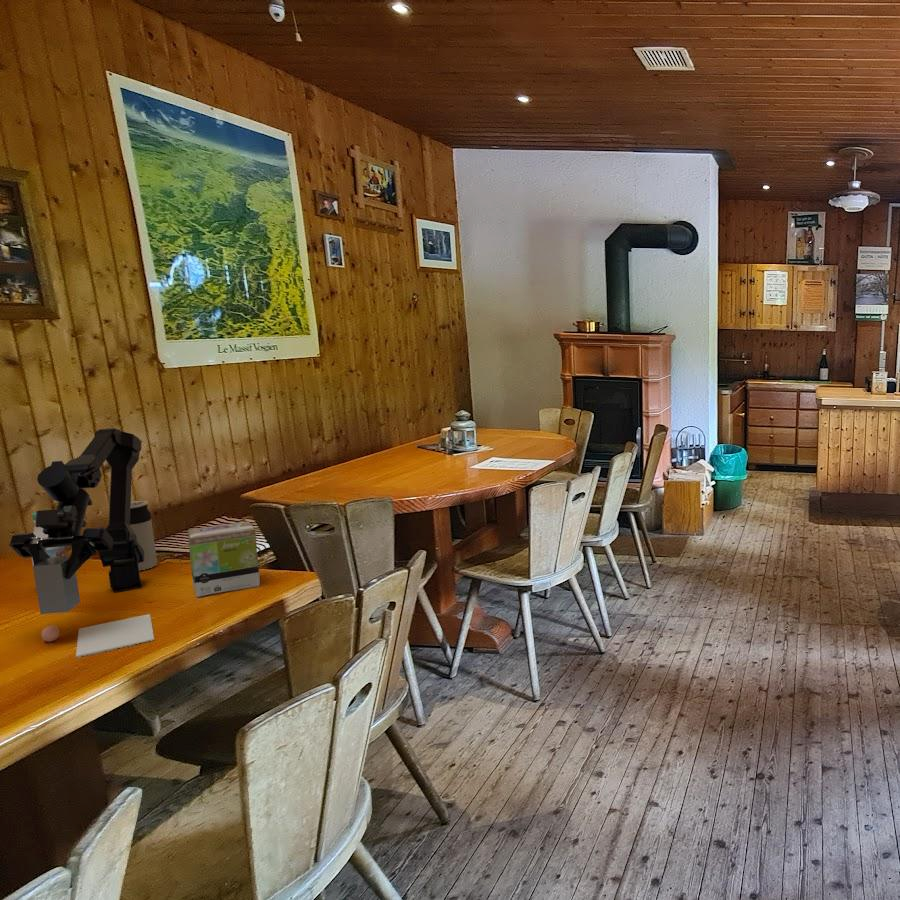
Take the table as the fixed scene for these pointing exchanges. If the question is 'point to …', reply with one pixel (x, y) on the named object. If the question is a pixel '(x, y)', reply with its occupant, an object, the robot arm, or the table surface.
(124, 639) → the mat
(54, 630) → the ball
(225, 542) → the tea box
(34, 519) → the milk bottle
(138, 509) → the travel mug
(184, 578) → the table surface
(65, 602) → the tin
